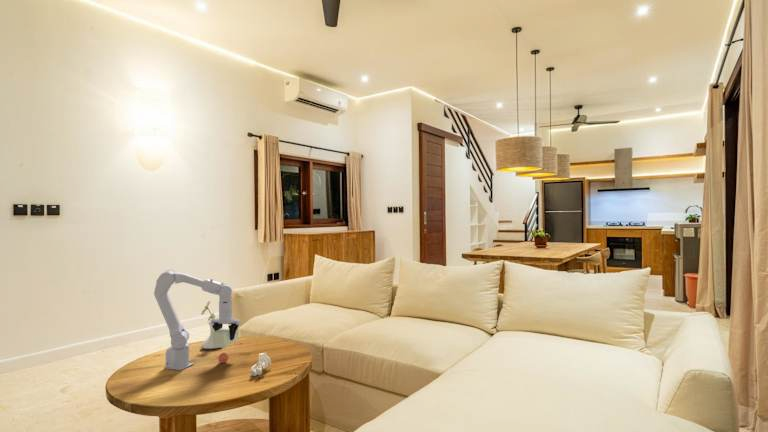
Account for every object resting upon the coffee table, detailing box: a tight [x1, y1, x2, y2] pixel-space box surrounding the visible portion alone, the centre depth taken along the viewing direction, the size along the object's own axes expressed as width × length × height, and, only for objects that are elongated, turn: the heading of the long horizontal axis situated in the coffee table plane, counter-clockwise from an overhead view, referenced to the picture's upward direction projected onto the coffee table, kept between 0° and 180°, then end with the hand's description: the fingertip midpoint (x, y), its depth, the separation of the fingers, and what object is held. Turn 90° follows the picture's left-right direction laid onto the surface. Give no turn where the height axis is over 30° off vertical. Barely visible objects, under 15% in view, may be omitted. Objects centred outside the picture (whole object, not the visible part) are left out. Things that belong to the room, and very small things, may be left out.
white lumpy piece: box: [250, 351, 272, 377], centre depth 179 cm, size 8×6×12 cm
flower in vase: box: [200, 300, 219, 350], centre depth 212 cm, size 13×11×25 cm
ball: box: [217, 352, 229, 364], centre depth 190 cm, size 4×4×4 cm
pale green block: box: [212, 324, 239, 349], centre depth 192 cm, size 6×12×7 cm, turn 168°
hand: (225, 339), depth 192 cm, fingers closed on pale green block, 6 cm apart
